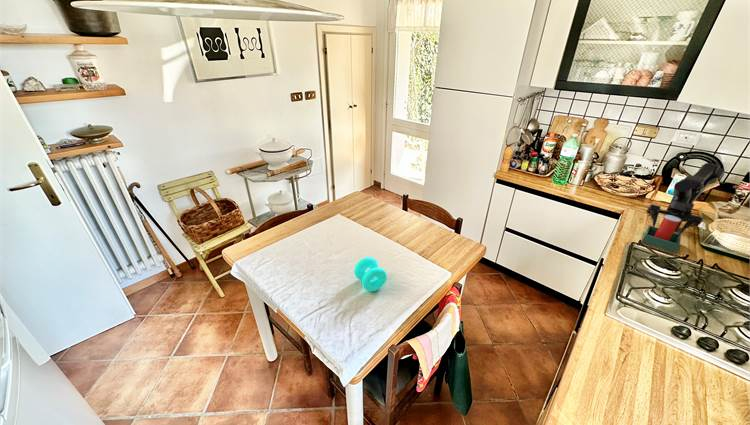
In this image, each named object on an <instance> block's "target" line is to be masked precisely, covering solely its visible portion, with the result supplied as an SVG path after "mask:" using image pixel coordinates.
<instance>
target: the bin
mask: <svg viewBox="0 0 750 425" xmlns="http://www.w3.org/2000/svg"><path fill="white" fill-rule="evenodd" d="M658 228H659V227H656V226H654V227H653V225H648V226H647V228H646V230H645V232H644V233H643V237H642V239H641V243H642V244H645V245H648V246H651V247H654V248H658V249H660V250H663V251H667V252H669V253H673V254H676V252H677V250H678V249H679V247H680V245H681V239H682V234H680V235H678V234H679V233H676V232H674V233H673V235H672V236H671V238H670V240H669V241H666V240H663V239H660V238H657V237H654V235H655V234H656V232H657V230H658Z"/></svg>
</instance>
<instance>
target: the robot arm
mask: <svg viewBox="0 0 750 425" xmlns="http://www.w3.org/2000/svg"><path fill="white" fill-rule="evenodd" d="M725 174H726V171H725V169H723V168H722V167H720V166H719V165H718V164H714V163H710V162H708V163H707V162H706V163H704V164H702V165H701V166H700V167H699V169H698V171H697V172H696V173H694V174H693V175H688V176H686V177H685V178H684V179H680V180H679V181H677V182H676V183H675V184H674V186H673V196H672V198H671V200H670V202H669V204H668V206H667V208H666V210H665V209H662V206H661V205H657V204H653V203H651V204H649V206H648V207H647V210H646V212H645V213H646V214H648V215H649V216H650V217H651V221H652V226H653V227H656V224H657V221H658V218H659V214H660V215H664V216H665V215H673V216H676V217H678V218H680V219H681V221H680V223H679V224H678V226H677V228H676V230H675V231H674V232H678V231H679V232H678V233H677V234H678V235H682V234H683V232H684V231H685V230H687V229H688V228H693V227H699V226H700V225H701V224H702V223H703V220H704V217H703V216H699V215H695V214H693V211H692V210H693V209H694V206H695V201H696V200H697V199H698V197H699V196H701V194H702V193H703V192H704V191H705V189H707V187H708V186H709V185H712V184H715V183H717V182H718V180H720V179H722V178H723V177H724V175H725ZM683 222H684V224H683V226H682V227H681V225H682V223H683Z"/></svg>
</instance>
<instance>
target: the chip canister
mask: <svg viewBox="0 0 750 425" xmlns="http://www.w3.org/2000/svg"><path fill="white" fill-rule="evenodd" d="M680 221H681V219H680V218H678V217H676V216H673V215H664V217H663V219H662V220H661V222H660V225H659V226H658V227H657V228H658V230H657V232H656V234H655V235H654V237H657V238H660V239H663V240H666V241H669V240H670V238H671V236H672V235H673V233H675V232H676V231H675V230H676V228H677V226H678V224H679V223H680Z"/></svg>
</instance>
